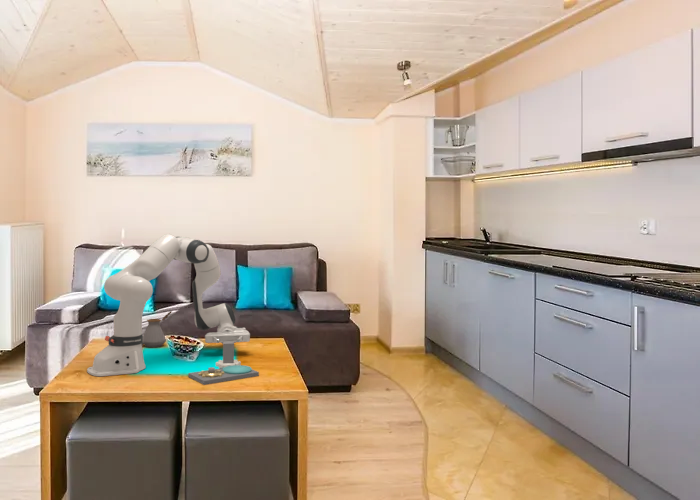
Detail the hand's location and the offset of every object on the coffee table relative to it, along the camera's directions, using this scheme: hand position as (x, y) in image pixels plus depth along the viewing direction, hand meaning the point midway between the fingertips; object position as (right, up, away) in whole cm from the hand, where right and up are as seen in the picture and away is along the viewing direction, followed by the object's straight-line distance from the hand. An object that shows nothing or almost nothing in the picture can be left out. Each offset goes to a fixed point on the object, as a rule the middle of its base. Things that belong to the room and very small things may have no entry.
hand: (228, 340), depth 274 cm
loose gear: (+2, -9, -12) cm, 15 cm away
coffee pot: (-40, -6, +29) cm, 49 cm away
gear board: (+4, -10, -30) cm, 31 cm away
